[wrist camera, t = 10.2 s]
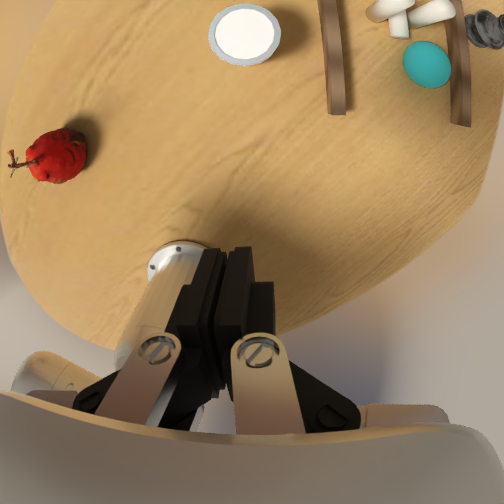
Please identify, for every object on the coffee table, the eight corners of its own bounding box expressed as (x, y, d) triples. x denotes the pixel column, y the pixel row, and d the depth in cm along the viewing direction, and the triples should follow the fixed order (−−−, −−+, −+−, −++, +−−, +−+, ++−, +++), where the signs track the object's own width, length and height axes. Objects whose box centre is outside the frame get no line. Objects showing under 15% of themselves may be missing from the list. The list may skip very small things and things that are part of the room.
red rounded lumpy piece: (47, 145, 34) (-24, 177, 21) (74, 113, 32) (-3, 136, 19) (73, 182, 37) (7, 227, 24) (101, 154, 35) (31, 191, 22)
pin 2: (420, 30, 24) (457, 20, 17) (403, 27, 25) (438, 14, 17) (417, 14, 23) (453, 1, 15) (401, 11, 23) (435, -5, 16)
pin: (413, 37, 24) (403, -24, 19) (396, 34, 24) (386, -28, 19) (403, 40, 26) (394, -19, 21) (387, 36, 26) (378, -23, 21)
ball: (425, 52, 27) (423, 92, 29) (394, 35, 25) (391, 79, 27) (460, 52, 22) (458, 97, 24) (430, 32, 20) (428, 80, 22)
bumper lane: (458, 123, 30) (470, 127, 27) (327, 113, 32) (332, 115, 29) (440, -35, 18) (450, -40, 15) (307, -60, 19) (309, -70, 17)
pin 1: (385, 24, 25) (416, 8, 17) (366, 21, 25) (394, 4, 17) (382, 7, 24) (413, -11, 16) (364, 5, 24) (391, -16, 16)
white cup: (287, 29, 27) (291, 14, 21) (267, 78, 30) (267, 74, 24) (230, 13, 26) (221, -4, 20) (211, 62, 29) (197, 55, 23)
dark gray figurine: (493, 53, 23) (549, 55, 13) (464, 45, 24) (521, 42, 14) (486, 18, 20) (539, 11, 10) (457, 8, 21) (510, -5, 11)
